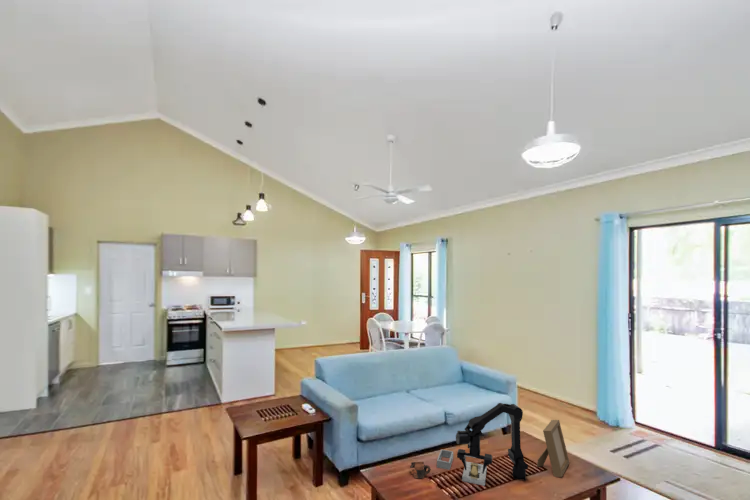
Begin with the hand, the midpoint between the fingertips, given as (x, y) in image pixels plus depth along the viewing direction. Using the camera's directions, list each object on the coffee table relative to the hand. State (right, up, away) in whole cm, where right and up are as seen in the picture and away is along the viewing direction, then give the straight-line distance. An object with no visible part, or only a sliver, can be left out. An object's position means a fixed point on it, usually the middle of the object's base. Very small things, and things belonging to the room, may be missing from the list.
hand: (474, 471), depth 213 cm
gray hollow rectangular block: (-13, -5, +18) cm, 22 cm away
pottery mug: (-30, -4, +3) cm, 30 cm away
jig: (+1, -4, +4) cm, 6 cm away
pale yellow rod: (0, -4, 0) cm, 4 cm away
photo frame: (+51, -7, +16) cm, 54 cm away
